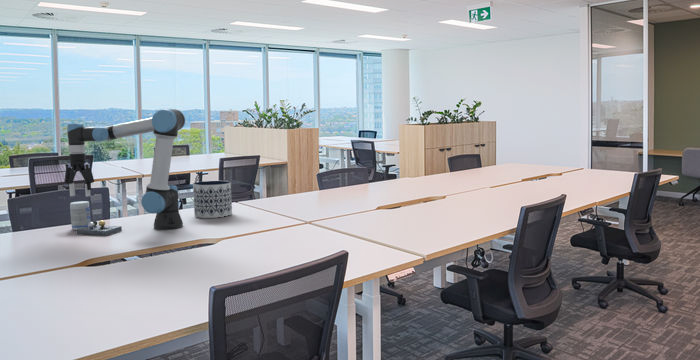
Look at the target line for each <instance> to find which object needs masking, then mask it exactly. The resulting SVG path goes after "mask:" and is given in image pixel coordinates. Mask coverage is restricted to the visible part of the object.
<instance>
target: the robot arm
mask: <svg viewBox="0 0 700 360" xmlns="http://www.w3.org/2000/svg"><path fill="white" fill-rule="evenodd" d="M185 124H186V117H185V115H184V113H183V112H182V111H180V110H179V109H176V108H175V109H174V108H159V109H158V110H156V111H154V113H153V115H152V117H149V118H143V119H139V120H134V121H128V122H123V123H118V124H113V125H108V126H84V124H83V123H81V122H80V123H74V122H73V123H68V124H67V129H66V130H67V131H66V133H67V142H68V153H69V155H68V156H69V161H70V162H69V163H66V164H65V174H64V183H66V184H68V185H67V186H68V190H69V196H70V197H75V196H76V189H75V183H74V180H75V177H76V174H77V173H78V172H79V173H80V174H81V176H82V178H83V180H84V182H85V184H84V188H85V189H84V190H85V193H84V194H85V198H87V197H91V196H92V195H91V191H92V184H93V183H95V179H94V176H93V171H92V164H91V163H86V159H87V157H86V145H85V142H99V143H100V142H106V141H108V142H109V141H113V140H117V139H123V138H128V137H132V136H133V137H134V136H139V135H145V134H149V133H153V135H154V137H155V143H154V144H155V145H154V152H153V158H152V159H153V160H152V165H151V173H150V174H151V175H150V181H149V183H148V184H146V188H145V193H144V194H143V196H141V199H140V201H141V203H140V204H141V206H142V208H143V210H144V211H146V212H147V213H148V214H156V215H155V218H154V223H153V229H154V230H161V231H162V230H163V231H164V230H173V229H180V228H183V226H184V225H183V223H184V222H183V220H182V218H181V214H180V211H179V206H180V205H179V191H178V186H177V185H169V178H170V177H169V176H170V171H171V170H170V169H171V162H172V155H173V154H172V153H173V148H174V147H173V146H174V140H175V139H177V138H178V133H179V131H180V130H181V129H183V128H184V126H185Z"/></svg>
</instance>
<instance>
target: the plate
mask: <svg viewBox="0 0 700 360" xmlns="http://www.w3.org/2000/svg"><path fill="white" fill-rule="evenodd" d="M122 228H123V227H122V226H119V225H105V226H103V227H101V226H99V224H97V225H96V226H94V228H89V227H84V228H81V229H77V230H75V232H76V235H79V234H83V236H85V235H86V236H102V237H103V236H104V237H106V236H110V235H114V234H115V233H116V234H117V233H119V232H122V230H123V229H122Z"/></svg>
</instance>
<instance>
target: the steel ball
mask: <svg viewBox="0 0 700 360" xmlns="http://www.w3.org/2000/svg"><path fill="white" fill-rule="evenodd" d="M94 226H95V224H94V223H93V222H92V221H91V222H90V223H89V224H88V227H89V228H94Z"/></svg>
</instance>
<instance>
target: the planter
mask: <svg viewBox="0 0 700 360" xmlns="http://www.w3.org/2000/svg"><path fill="white" fill-rule="evenodd" d="M192 190H193V193H192V195H193V212H194V217H196V218H198V219H219V218H218V217H222V218H225V217H224V216H227V217H229V216H228V215H230V216H232V214H233V206H232V205H233V204H232V203H233V202H232V200H233V199H232V183H231V181H230V180H205V181H203V180H202V181H196V182H193V183H192Z"/></svg>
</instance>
